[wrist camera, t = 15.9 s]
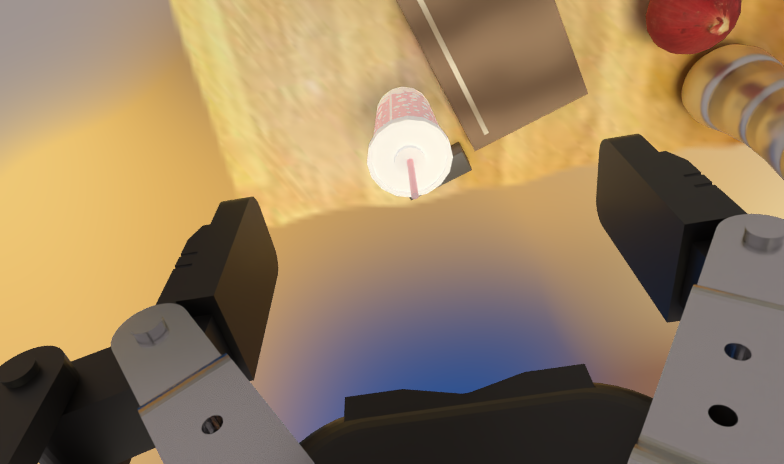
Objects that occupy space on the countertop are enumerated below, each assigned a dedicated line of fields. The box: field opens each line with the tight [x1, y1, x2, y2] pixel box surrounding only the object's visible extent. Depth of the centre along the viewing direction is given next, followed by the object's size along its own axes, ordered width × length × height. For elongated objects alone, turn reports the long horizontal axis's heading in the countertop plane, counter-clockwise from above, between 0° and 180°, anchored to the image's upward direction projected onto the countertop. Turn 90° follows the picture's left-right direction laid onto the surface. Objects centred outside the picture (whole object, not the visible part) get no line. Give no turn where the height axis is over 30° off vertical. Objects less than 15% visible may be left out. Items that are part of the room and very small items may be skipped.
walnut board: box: [397, 0, 588, 200], centre depth 40 cm, size 24×17×2 cm
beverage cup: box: [367, 87, 453, 199], centre depth 39 cm, size 6×6×14 cm
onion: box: [646, 0, 741, 54], centre depth 37 cm, size 6×6×8 cm
